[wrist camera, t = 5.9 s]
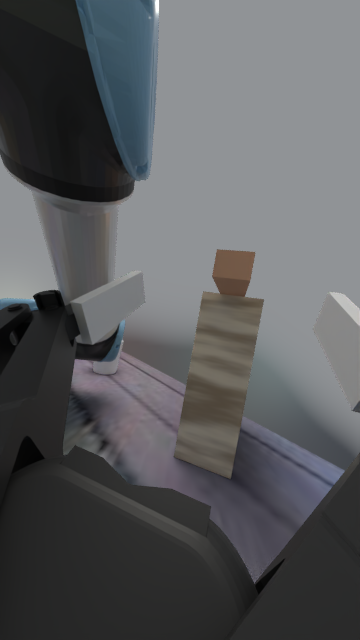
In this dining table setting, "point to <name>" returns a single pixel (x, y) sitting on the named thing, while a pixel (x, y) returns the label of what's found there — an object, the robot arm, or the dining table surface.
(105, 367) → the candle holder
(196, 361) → the pedestal
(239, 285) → the lever bar
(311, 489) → the dining table surface
